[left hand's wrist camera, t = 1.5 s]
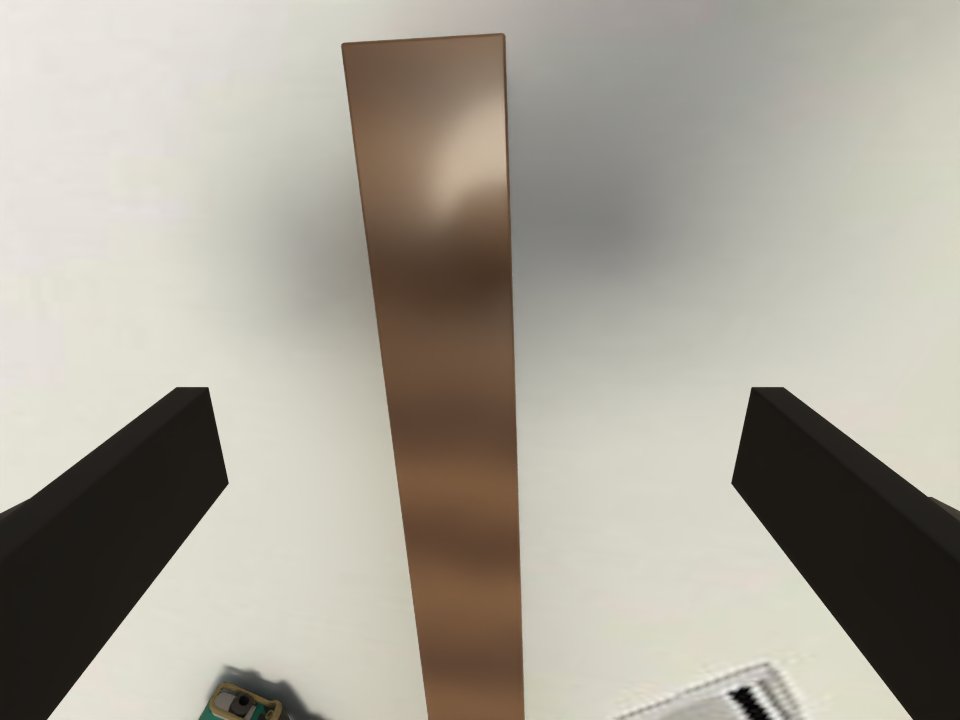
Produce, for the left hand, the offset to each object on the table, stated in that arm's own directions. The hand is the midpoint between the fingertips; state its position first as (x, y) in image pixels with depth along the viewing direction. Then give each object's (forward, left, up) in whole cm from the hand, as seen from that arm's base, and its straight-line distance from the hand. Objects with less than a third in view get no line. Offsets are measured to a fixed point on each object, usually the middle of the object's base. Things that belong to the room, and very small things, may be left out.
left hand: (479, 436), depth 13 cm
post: (+16, +24, -15) cm, 33 cm away
